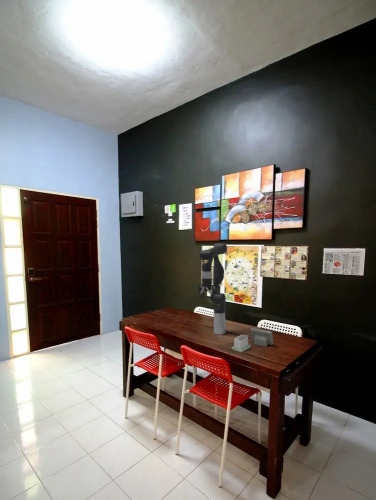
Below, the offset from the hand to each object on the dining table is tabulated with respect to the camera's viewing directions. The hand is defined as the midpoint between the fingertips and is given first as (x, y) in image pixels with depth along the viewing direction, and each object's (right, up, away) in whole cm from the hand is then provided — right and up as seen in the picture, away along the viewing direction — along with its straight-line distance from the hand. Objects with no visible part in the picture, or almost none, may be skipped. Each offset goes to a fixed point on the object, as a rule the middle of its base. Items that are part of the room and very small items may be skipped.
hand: (206, 299), depth 177 cm
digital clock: (+41, -33, +1) cm, 53 cm away
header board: (+24, -33, -7) cm, 41 cm away
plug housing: (+24, -31, -7) cm, 40 cm away
